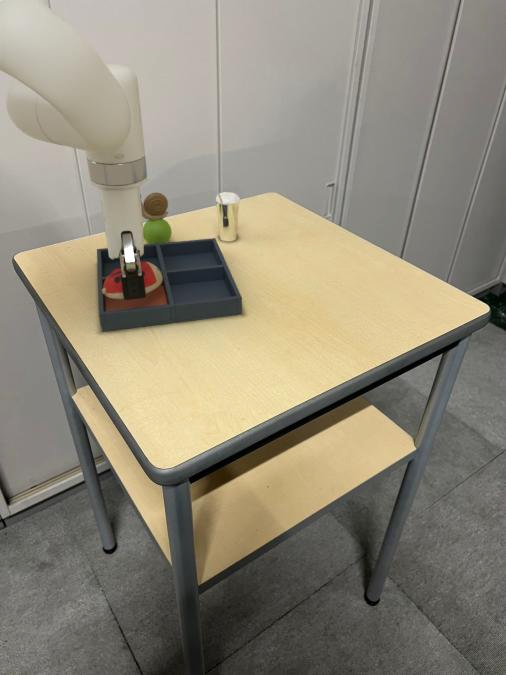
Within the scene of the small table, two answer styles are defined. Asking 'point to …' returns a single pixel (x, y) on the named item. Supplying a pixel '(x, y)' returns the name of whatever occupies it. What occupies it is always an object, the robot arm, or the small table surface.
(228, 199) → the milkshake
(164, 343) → the small table surface
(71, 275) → the small table surface
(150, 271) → the ladybug figurine
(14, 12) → the robot arm
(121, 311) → the four-compartment sorting tray
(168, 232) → the snail figurine
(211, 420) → the small table surface
